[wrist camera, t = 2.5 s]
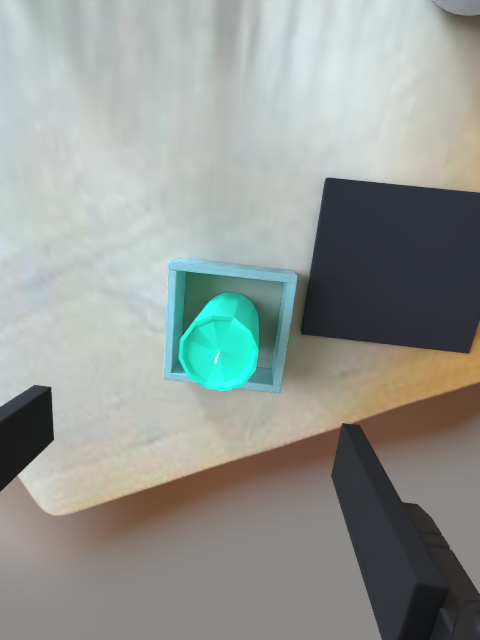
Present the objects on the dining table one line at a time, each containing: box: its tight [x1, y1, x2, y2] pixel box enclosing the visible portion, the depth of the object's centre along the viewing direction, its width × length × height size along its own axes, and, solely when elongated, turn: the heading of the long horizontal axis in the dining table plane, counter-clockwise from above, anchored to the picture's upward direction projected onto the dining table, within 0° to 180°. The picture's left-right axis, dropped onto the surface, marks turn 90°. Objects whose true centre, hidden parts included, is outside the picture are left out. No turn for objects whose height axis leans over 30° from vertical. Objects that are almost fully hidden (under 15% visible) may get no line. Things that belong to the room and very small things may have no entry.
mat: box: [301, 178, 480, 353], centre depth 30 cm, size 17×15×1 cm
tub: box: [163, 258, 298, 393], centre depth 31 cm, size 12×12×4 cm
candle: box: [179, 292, 259, 391], centre depth 27 cm, size 6×6×12 cm
